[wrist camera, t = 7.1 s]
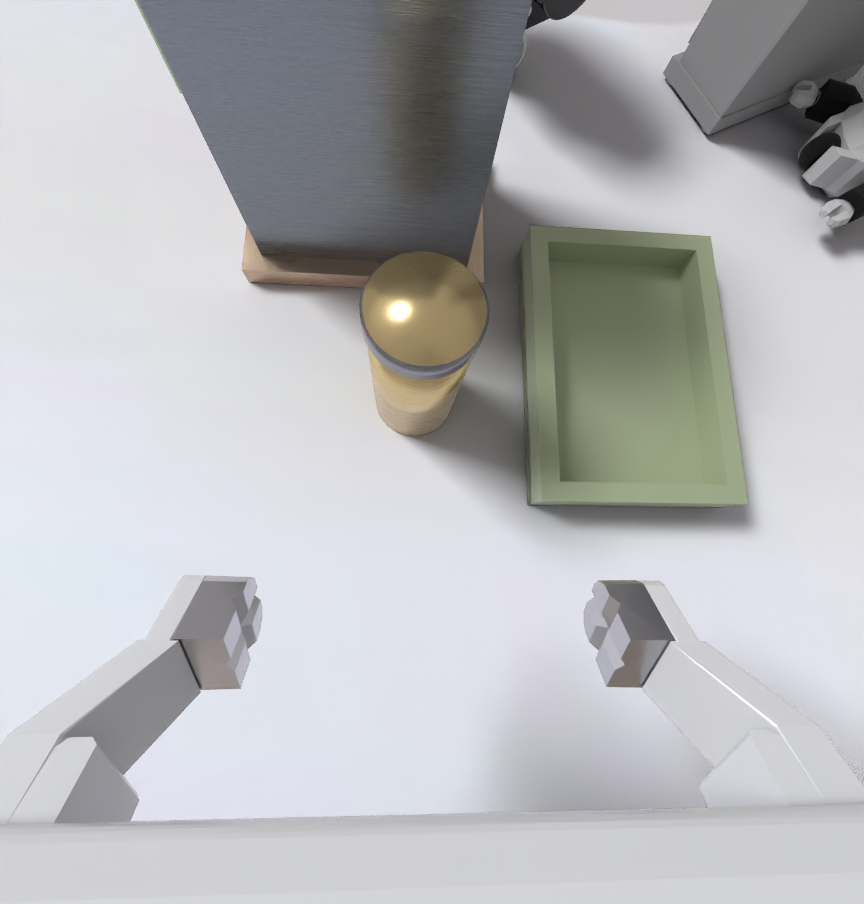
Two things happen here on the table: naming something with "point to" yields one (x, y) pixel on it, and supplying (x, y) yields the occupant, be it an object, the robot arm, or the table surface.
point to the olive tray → (626, 371)
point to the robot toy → (834, 147)
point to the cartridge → (421, 336)
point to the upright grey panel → (764, 55)
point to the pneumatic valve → (547, 15)
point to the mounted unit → (347, 123)
